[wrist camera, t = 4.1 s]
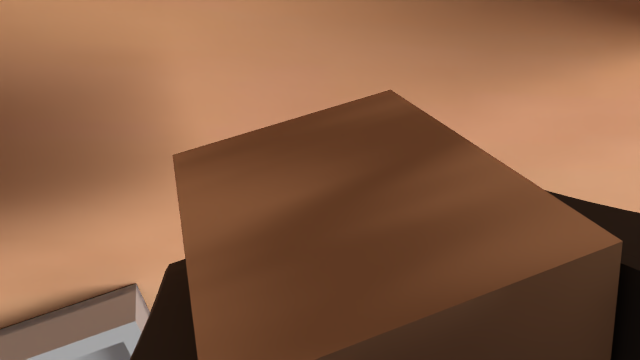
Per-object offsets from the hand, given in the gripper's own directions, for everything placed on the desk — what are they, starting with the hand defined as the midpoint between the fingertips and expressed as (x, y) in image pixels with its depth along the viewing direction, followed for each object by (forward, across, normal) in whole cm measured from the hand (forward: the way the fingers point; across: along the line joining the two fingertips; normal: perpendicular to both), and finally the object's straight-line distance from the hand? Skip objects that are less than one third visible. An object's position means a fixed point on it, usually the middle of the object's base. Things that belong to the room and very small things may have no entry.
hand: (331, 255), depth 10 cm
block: (+2, 0, 0) cm, 2 cm away
